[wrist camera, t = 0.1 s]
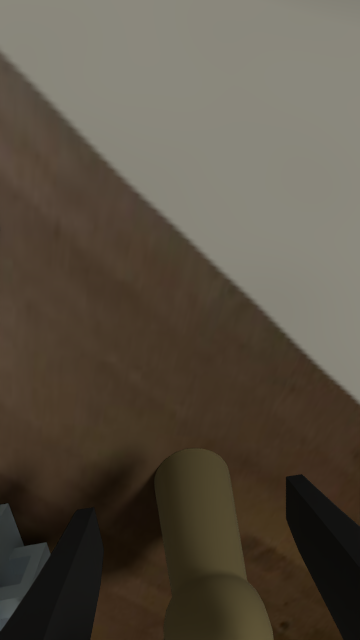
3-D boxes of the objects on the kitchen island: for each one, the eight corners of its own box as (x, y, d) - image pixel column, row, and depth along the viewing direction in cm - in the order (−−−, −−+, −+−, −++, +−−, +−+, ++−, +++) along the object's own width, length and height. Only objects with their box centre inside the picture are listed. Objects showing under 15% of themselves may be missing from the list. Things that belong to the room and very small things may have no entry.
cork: (221, 512, 24) (276, 729, 13) (149, 509, 23) (145, 736, 12) (236, 451, 22) (312, 639, 12) (159, 445, 21) (166, 641, 11)
